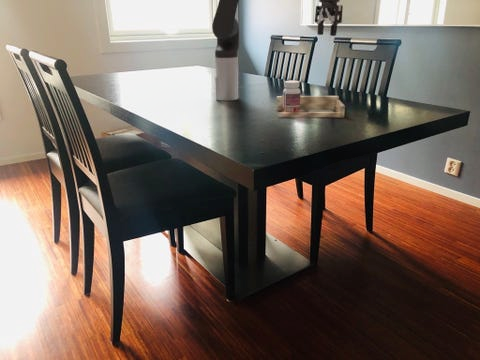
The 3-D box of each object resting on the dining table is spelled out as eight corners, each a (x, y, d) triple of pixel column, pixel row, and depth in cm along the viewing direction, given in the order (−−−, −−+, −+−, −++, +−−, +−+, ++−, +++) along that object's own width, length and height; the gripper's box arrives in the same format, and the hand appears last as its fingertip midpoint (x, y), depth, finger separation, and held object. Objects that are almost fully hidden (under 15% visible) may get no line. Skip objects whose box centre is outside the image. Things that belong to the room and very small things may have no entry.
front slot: (311, 116, 136) (311, 115, 136) (307, 110, 145) (308, 109, 144) (336, 116, 136) (336, 115, 136) (331, 110, 144) (331, 109, 144)
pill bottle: (303, 113, 140) (304, 81, 136) (290, 116, 137) (291, 83, 132) (291, 110, 145) (293, 79, 140) (278, 113, 142) (279, 81, 137)
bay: (277, 117, 135) (278, 103, 133) (276, 109, 147) (276, 96, 145) (343, 117, 134) (345, 103, 132) (336, 109, 146) (338, 95, 144)
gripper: (311, -11, 148) (308, 34, 154) (333, -14, 136) (329, 36, 142) (327, -11, 150) (324, 34, 157) (350, -13, 138) (346, 35, 145)
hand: (326, 35), depth 149 cm, fingers open, 8 cm apart
